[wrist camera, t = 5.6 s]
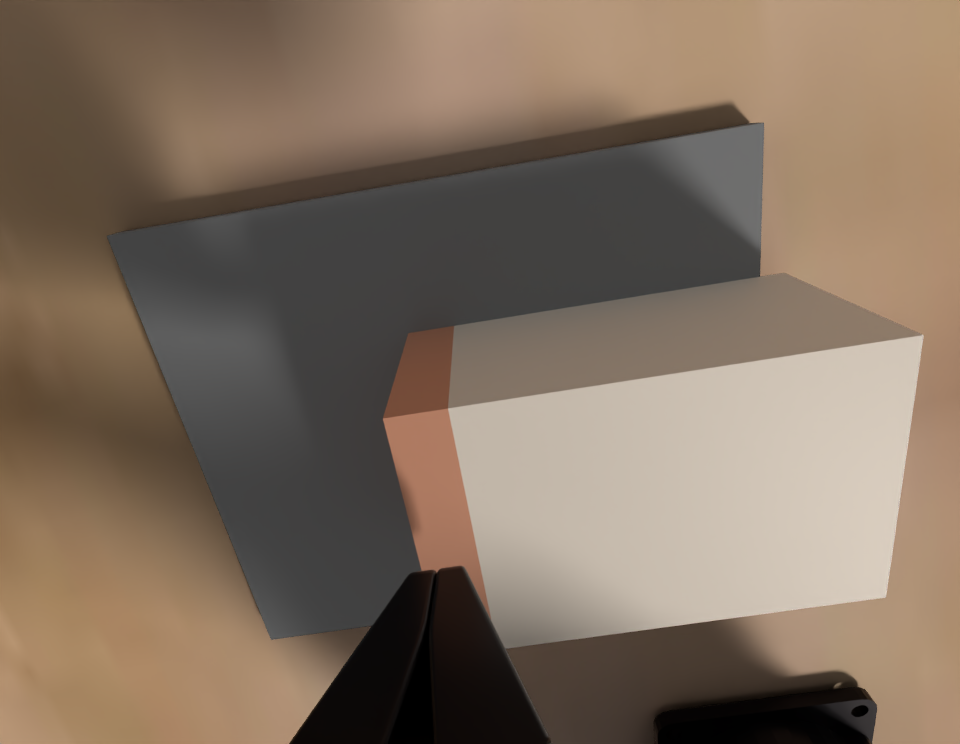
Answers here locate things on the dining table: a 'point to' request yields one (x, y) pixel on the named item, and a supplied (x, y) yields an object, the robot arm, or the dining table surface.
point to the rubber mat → (399, 330)
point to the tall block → (658, 456)
